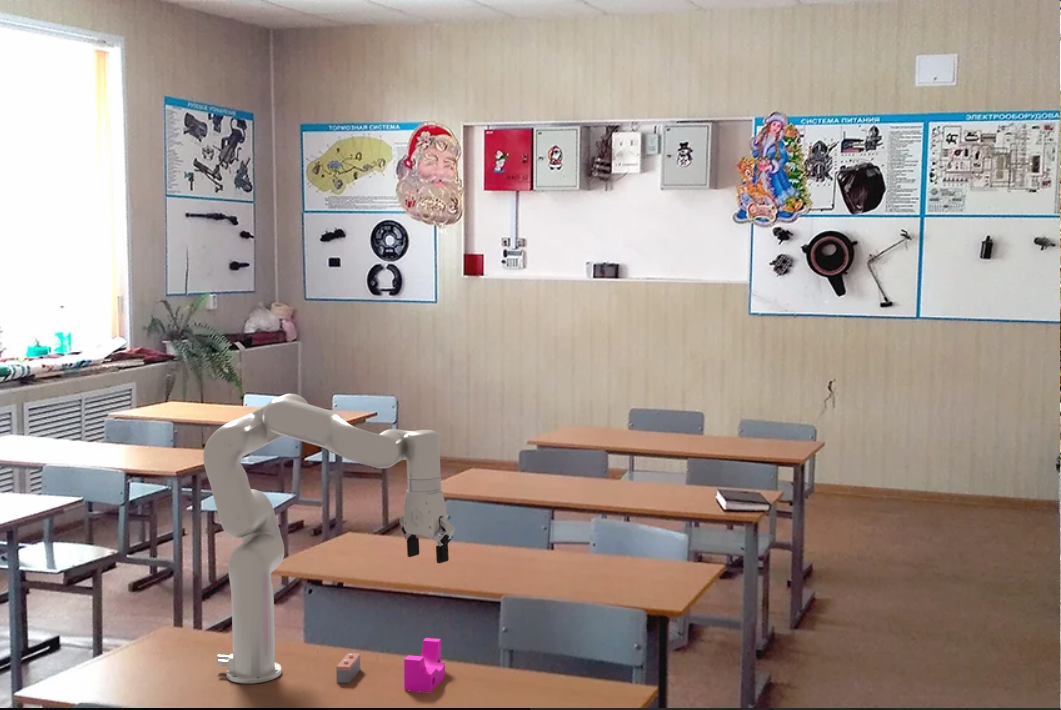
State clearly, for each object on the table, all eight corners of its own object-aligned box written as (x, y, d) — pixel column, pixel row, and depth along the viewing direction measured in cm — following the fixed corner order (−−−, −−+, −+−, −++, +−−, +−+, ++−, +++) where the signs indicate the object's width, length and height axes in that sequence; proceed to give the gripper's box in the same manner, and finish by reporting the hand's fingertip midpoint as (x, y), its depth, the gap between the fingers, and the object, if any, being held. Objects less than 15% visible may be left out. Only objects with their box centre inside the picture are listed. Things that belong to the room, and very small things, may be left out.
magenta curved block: (430, 694, 260) (430, 661, 259) (404, 691, 262) (404, 659, 261) (451, 670, 275) (450, 640, 274) (425, 668, 276) (425, 637, 275)
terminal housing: (336, 682, 266) (336, 663, 266) (348, 668, 275) (347, 650, 275) (349, 683, 266) (349, 664, 265) (360, 669, 275) (360, 651, 274)
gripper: (386, 483, 266) (390, 557, 267) (438, 491, 254) (442, 568, 256) (411, 478, 272) (414, 550, 273) (463, 485, 260) (466, 560, 261)
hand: (427, 558), depth 264 cm, fingers open, 9 cm apart
